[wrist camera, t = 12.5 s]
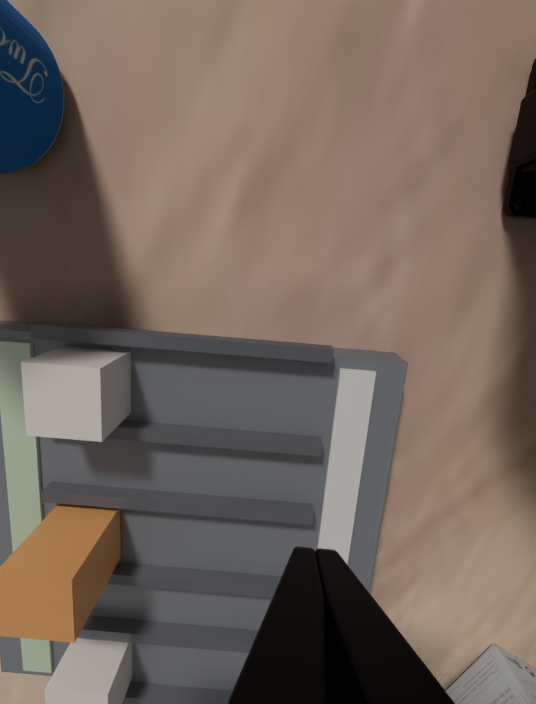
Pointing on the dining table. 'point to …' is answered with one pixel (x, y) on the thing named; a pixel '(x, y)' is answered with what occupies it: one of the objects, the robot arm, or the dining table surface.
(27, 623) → the handle
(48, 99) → the beverage can
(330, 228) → the dining table surface
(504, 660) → the supplement box
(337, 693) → the robot arm
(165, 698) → the board
